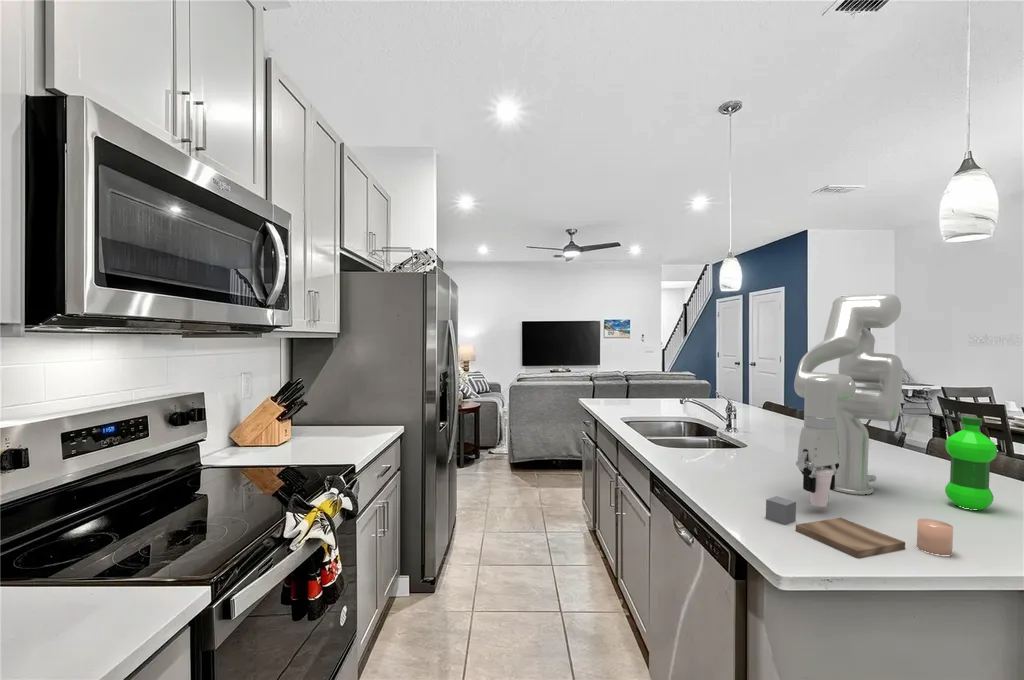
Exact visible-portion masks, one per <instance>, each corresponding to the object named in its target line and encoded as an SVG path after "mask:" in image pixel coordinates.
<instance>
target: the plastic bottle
mask: <svg viewBox="0 0 1024 680" xmlns="http://www.w3.org/2000/svg"><path fill="white" fill-rule="evenodd" d="M960 424H961V425H963V429H962V430H959V431H957V432H955V433H953V434H952V435H950V436H948V437H947V439H946V440H945V442H944V443H945V444H944V445H945V450H946V452H947V454H949V456H950V471H949V472H950V474H949V482H948V483H947V484H946V485H945V489H944V492H945V495H946V497H947V498H948V499H949V500H950V502H951V503H953V504H954V505H955V506H956V505H958V506H961V507H964V508H969V509H977V510H980V511H982V510H983V509H985V508H988V507H990V506H991V505H992V504H993V502H994V494H993V492H992V490H991V488H990V475H991V474H990V467H991V462H992V461H993V460H995V459H996V458H997V454H998V448H997V445H996V443H995V442H993V440H991V439H990V438H989V437H988V436H986V435H985V434H983V432H981V430H980V427H981V426H983V418H980V417H975V416H961V417H960Z"/></svg>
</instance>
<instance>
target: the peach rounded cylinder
mask: <svg viewBox="0 0 1024 680" xmlns="http://www.w3.org/2000/svg"><path fill="white" fill-rule="evenodd" d="M916 527H917V528H916V529H917V530H916V548H917V547H918V548H919V549H921V550H923V551H926V552H929V553H933V554H939V555H951V554H952V555H953V545H954V543H953V541H954V540H953V539H954V526H953V525H951V524H950V523H947V522H944V521H940V520H937V519H932V518H918V519H917V526H916ZM918 548H917V549H918ZM919 549H918V550H919ZM921 550H920V551H921ZM923 551H922V552H923Z"/></svg>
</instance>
